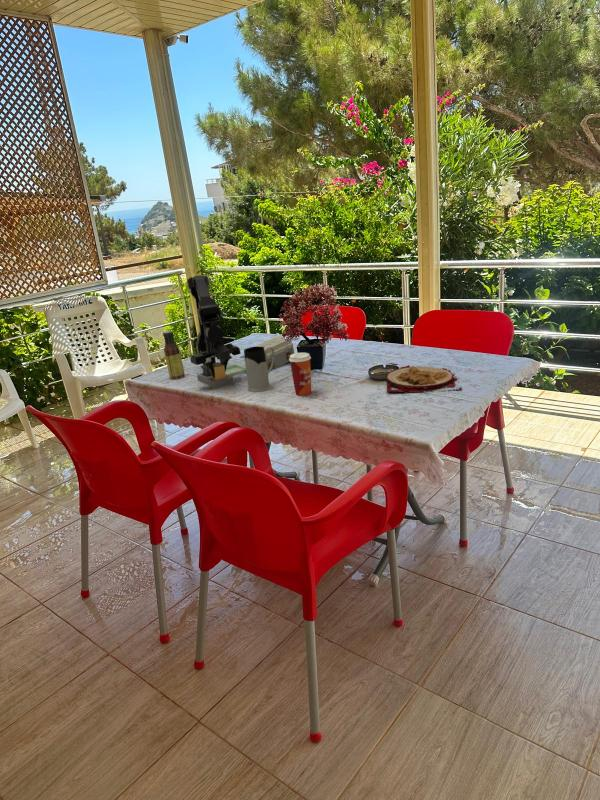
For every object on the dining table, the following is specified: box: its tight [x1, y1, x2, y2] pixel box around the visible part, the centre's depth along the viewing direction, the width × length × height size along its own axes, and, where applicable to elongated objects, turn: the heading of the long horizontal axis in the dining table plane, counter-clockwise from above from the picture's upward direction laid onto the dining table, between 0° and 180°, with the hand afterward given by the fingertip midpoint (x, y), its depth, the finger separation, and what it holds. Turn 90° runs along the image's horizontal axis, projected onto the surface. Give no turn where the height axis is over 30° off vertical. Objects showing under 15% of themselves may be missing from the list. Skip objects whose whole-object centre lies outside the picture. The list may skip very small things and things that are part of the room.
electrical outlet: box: [239, 336, 300, 371], centre depth 233 cm, size 12×28×10 cm, turn 138°
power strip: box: [196, 372, 235, 390], centre depth 218 cm, size 16×8×3 cm, turn 35°
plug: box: [212, 361, 226, 381], centre depth 213 cm, size 4×4×7 cm
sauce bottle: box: [162, 330, 185, 381], centre depth 227 cm, size 7×6×20 cm
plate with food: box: [385, 362, 463, 394], centre depth 196 cm, size 25×26×4 cm
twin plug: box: [201, 365, 212, 377], centre depth 220 cm, size 4×4×7 cm
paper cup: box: [289, 352, 312, 397], centre depth 194 cm, size 8×8×14 cm
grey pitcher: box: [243, 346, 274, 393], centre depth 206 cm, size 9×14×15 cm, turn 139°
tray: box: [225, 363, 246, 377], centre depth 229 cm, size 11×11×2 cm
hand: (218, 376), depth 214 cm, fingers closed on plug, 4 cm apart
